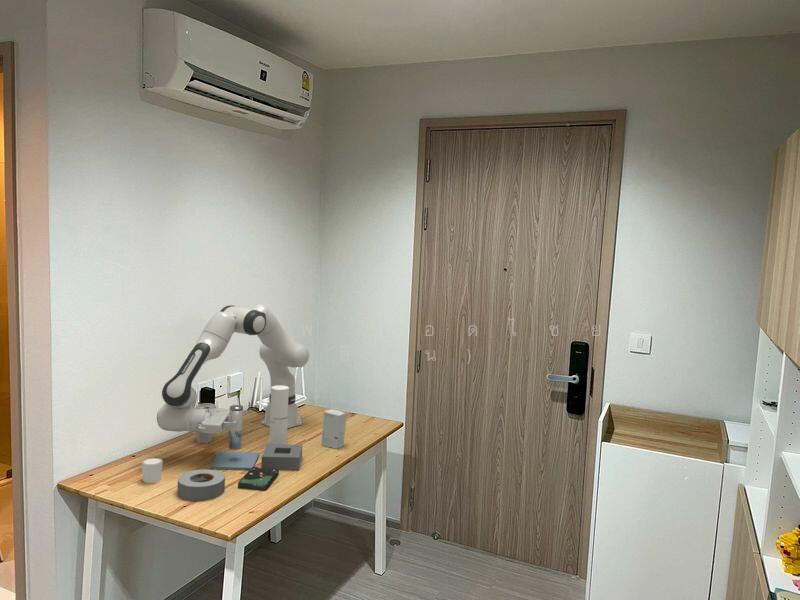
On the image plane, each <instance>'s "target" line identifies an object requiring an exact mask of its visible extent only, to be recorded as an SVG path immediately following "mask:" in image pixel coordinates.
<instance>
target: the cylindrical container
mask: <svg viewBox="0 0 800 600" xmlns="http://www.w3.org/2000/svg"><path fill="white" fill-rule="evenodd" d="M270 394H271V411H270V427H269V443H268V444H288V428H287V423H288V396H289V387H288V386H283V385H277V386H272V387H271V386H270Z"/></svg>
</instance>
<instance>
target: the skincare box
mask: <svg viewBox="0 0 800 600" xmlns="http://www.w3.org/2000/svg"><path fill="white" fill-rule="evenodd" d="M347 416H348V415H347V412H345V411H341V410H337V409H327V410H324V411H323V422H322V434H321V444H320V445H321V446H323V447H327V448H331V449H335V450H338V449H340V448H342V447H344V445H345V437H346V436H345V435H346V423H347Z"/></svg>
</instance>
